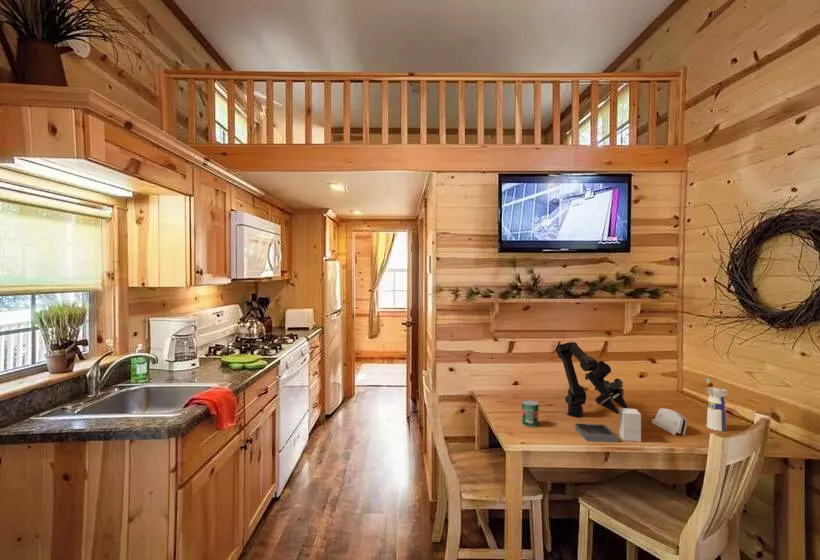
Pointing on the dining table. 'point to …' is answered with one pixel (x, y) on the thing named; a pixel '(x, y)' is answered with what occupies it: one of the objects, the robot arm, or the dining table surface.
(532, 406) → the canned tomato
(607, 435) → the square collar
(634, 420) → the supplement box
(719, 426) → the white tall bottle
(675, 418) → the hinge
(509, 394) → the dining table surface
